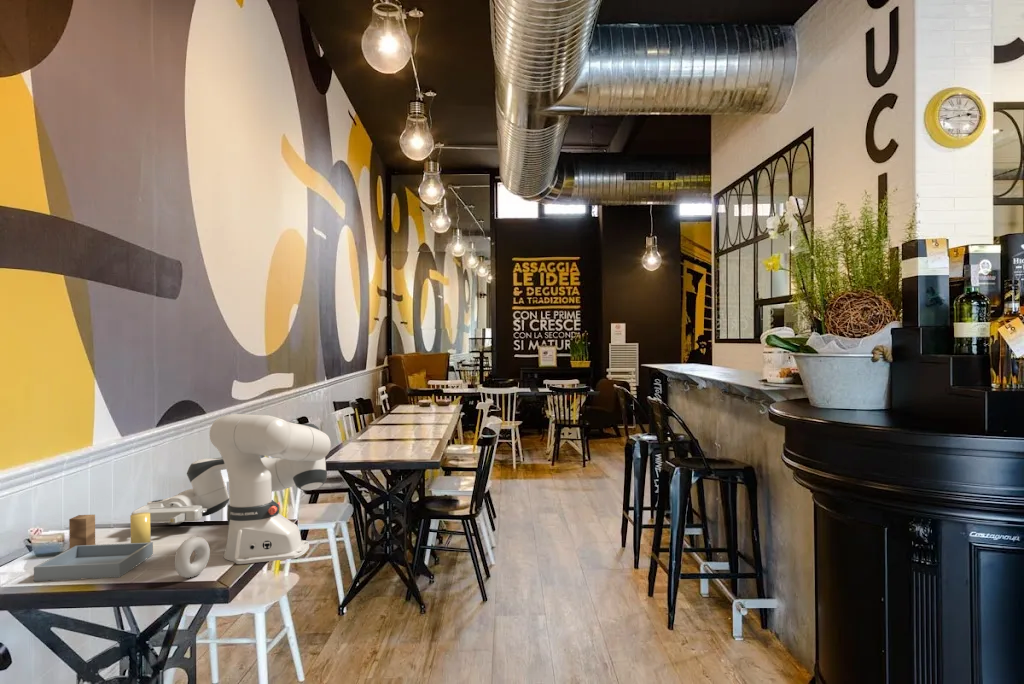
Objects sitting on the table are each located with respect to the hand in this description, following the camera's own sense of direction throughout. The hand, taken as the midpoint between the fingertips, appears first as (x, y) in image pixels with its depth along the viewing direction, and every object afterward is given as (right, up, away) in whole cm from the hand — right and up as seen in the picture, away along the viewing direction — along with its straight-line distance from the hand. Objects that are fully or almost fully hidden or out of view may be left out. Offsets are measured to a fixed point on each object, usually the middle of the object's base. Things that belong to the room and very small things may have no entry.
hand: (156, 521), depth 192 cm
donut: (+28, -5, -34) cm, 44 cm away
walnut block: (-15, -5, -12) cm, 20 cm away
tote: (-1, -5, -25) cm, 26 cm away
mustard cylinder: (+1, -5, -10) cm, 11 cm away
